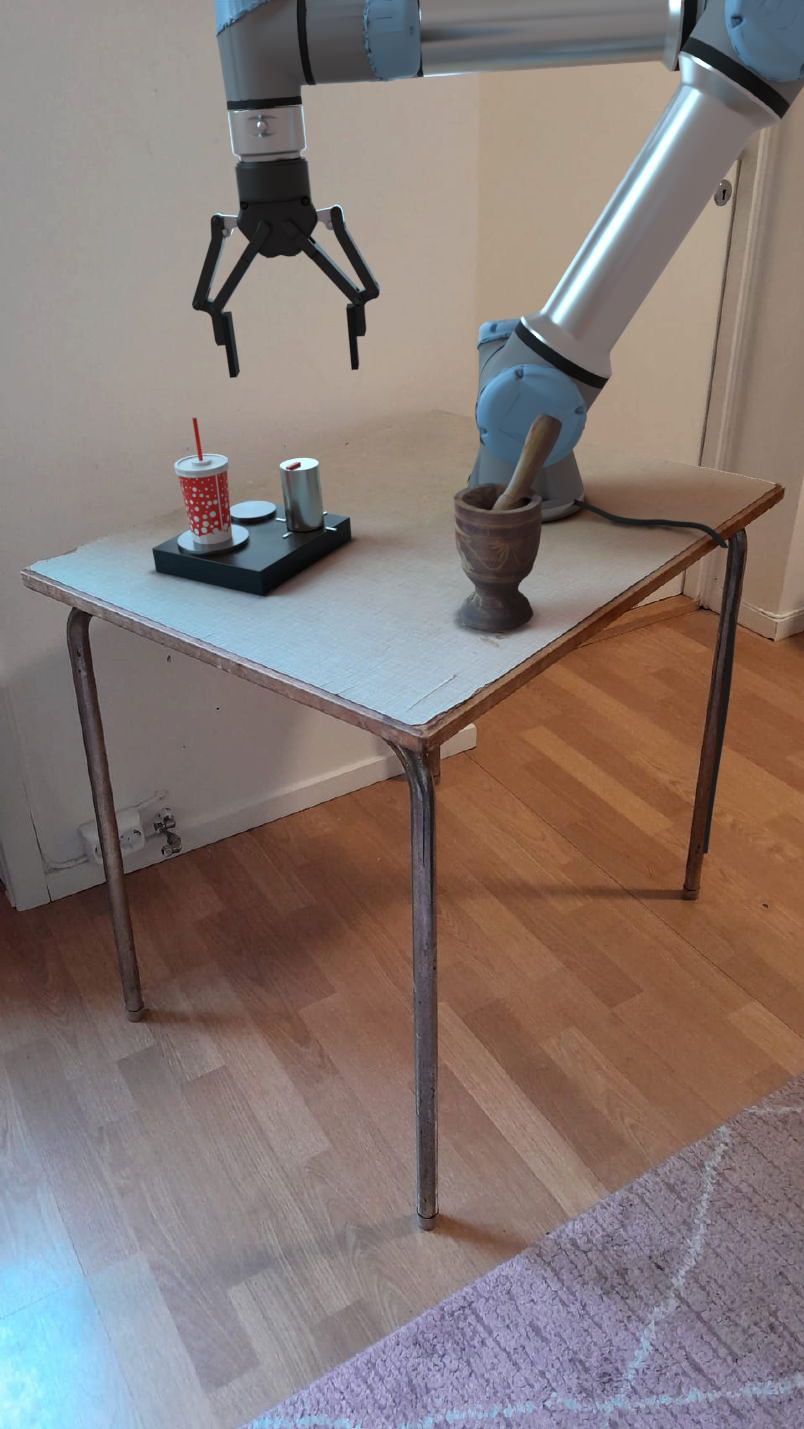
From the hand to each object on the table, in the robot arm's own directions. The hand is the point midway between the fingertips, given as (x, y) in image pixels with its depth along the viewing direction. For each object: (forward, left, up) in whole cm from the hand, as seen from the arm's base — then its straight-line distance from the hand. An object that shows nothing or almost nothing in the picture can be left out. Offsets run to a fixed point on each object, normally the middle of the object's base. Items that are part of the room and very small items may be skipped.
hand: (295, 371), depth 117 cm
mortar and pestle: (-29, +6, -21) cm, 37 cm away
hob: (+5, +5, -21) cm, 22 cm away
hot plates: (+7, +6, -18) cm, 20 cm away
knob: (0, +1, -18) cm, 18 cm away
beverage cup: (+7, +10, -18) cm, 21 cm away
